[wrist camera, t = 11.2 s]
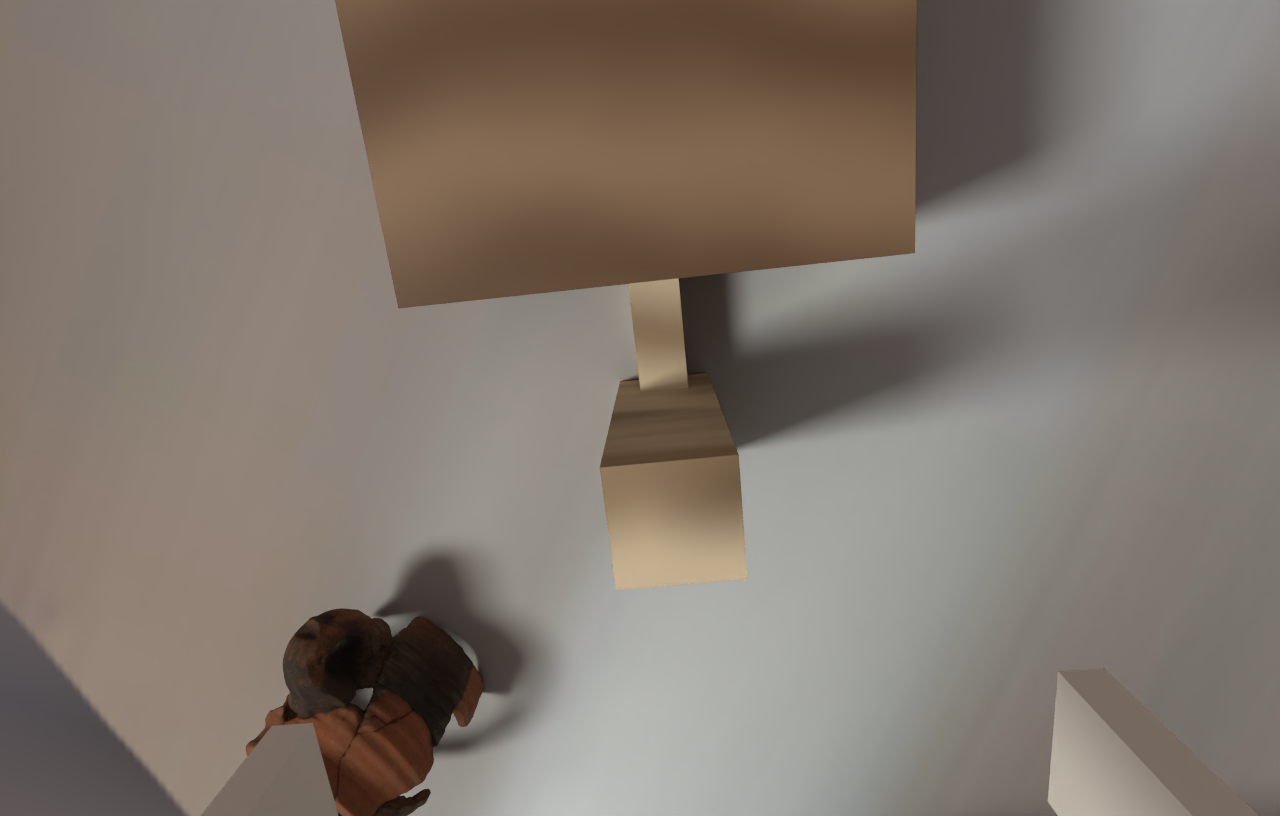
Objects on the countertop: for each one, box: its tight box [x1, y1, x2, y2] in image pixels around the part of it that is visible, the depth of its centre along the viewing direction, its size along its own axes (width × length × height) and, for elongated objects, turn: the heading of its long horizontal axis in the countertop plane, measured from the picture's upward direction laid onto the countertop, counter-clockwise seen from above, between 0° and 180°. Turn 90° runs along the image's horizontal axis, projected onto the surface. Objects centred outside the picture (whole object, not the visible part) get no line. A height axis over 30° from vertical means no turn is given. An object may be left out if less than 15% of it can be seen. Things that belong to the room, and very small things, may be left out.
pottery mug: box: [246, 609, 484, 816], centre depth 31 cm, size 12×10×8 cm
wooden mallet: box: [600, 278, 747, 590], centre depth 21 cm, size 23×8×11 cm, turn 6°
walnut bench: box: [335, 0, 917, 308], centre depth 21 cm, size 12×15×10 cm
